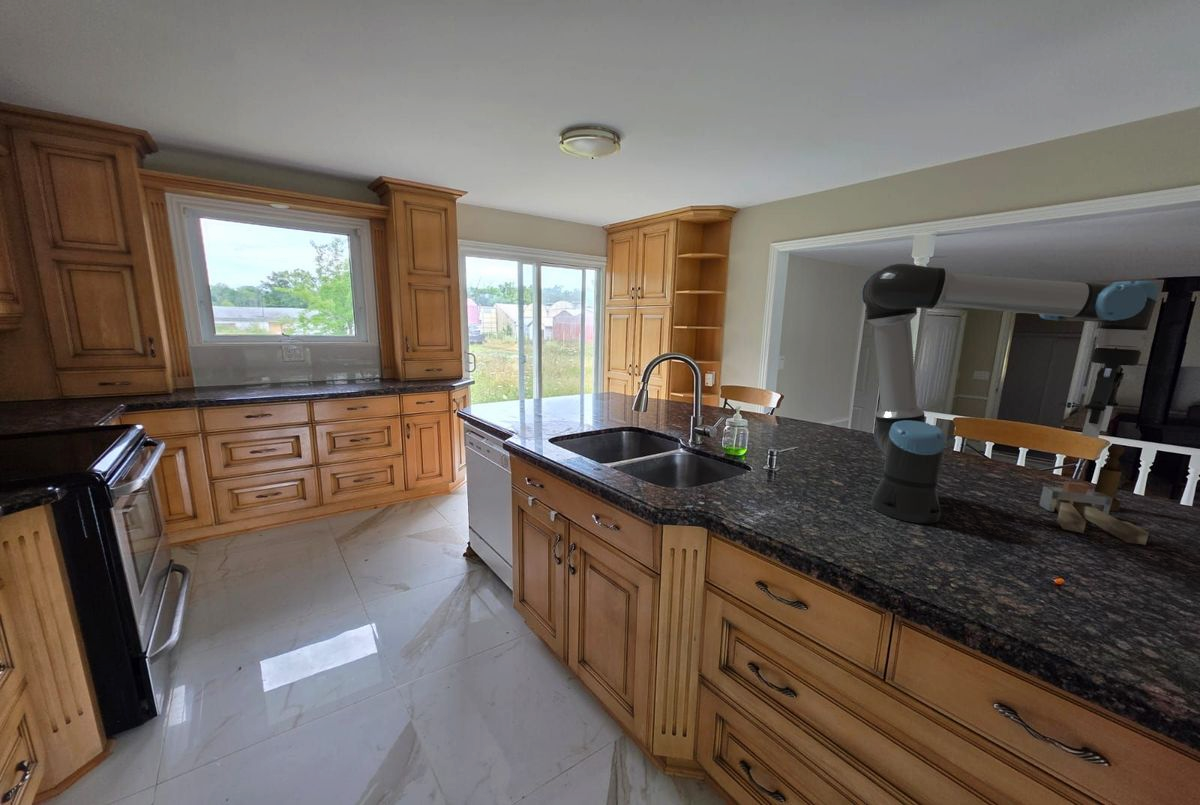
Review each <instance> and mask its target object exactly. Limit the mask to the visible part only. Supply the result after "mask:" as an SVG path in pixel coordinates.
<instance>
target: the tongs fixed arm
mask: <svg viewBox="0 0 1200 805" xmlns="http://www.w3.org/2000/svg"><path fill="white" fill-rule="evenodd" d="M1069 502H1070V503H1071V504H1072V505H1073V507H1074V508H1075V509H1076V510H1077V511H1078V513H1079V514H1080V515H1081V516H1082V517H1084V520H1086V521H1088V522H1090V523H1092V524H1094V525H1095V524H1096V526H1097V527H1099V528H1101V529H1103V530H1104V531H1106V532H1108V533H1110V534H1111V535H1113V536H1114V537H1117V538H1119V539H1120V540H1122V541H1124V542H1125V543H1129V544H1137V545H1139V544H1140V545H1145V546H1146V545H1147V543H1148V542H1147V541H1148V537H1149V534H1150V532H1148V531H1147V530H1145V529H1142V528H1141V527H1139V526H1137V525H1135V524H1134V523H1131V522H1129V521H1124V520H1119V519H1117V518H1116V517H1113V516H1111V514H1106V513H1104V512H1102V511H1100V510H1098V509H1097V508H1095V507H1093V506H1091V505H1089V504H1087V503H1083V502H1075V501H1069Z"/></svg>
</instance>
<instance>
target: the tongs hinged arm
mask: <svg viewBox="0 0 1200 805" xmlns="http://www.w3.org/2000/svg"><path fill="white" fill-rule="evenodd" d="M1058 488H1060V487H1059V486H1058ZM1054 510H1056V511H1057V513H1058V515H1057V522H1058V524H1059V525H1060V527H1061V528H1062V529H1063V530H1066V531H1070V532H1071V531H1072V532H1076V533H1081V534H1084V531H1085V529H1086V524H1087V520H1086V519H1085V518H1083V517H1082V516H1081V515H1080V514H1079V513H1078V511H1077V510H1076V509H1075V508H1074V507H1073V505H1072V504H1071V503H1070V502H1069V501H1066V500H1058V499H1057V501H1056V505H1055V509H1054Z"/></svg>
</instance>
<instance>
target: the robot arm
mask: <svg viewBox="0 0 1200 805" xmlns="http://www.w3.org/2000/svg"><path fill="white" fill-rule="evenodd" d="M1159 287H1160V285H1159V284H1158V283H1157V282H1155V281H1150V280H1126V281H1124V280H1123V281H1115V282H1112V284H1108V283H1107V284H1106V283H1093V282H1092V283H1090V282H1089V283H1088V282H1078V281H1077V282H1076V281H1063V280H1050V279H1049V280H1048V279H1035V278H1023V277H1022V278H1021V277H1008V276H1007V277H1005V276H993V275H980V274H979V275H978V274H963V273H952V272H949V271H948V270H947V269H946V268H944V267H935V266H934V267H933V266H932V267H931V266H925V265H917V264H911V263H896V264H891V265H889V266H885V267H884V268H882V269H880V270H878V271H876V272H874V273H873V274H872V275H871V276H869V278H867V280H866V281H865V283H864V285H863V288H862V291H861V297H862V300H863V303H864V304H865V309H866V310H865V311H866V321H867V323H869V324H871V325H872V326H873V328H874V341H875V342H874V343H875V356H876V366H877V377H878V388H879V390H878V391H879V401H880V408H879V410H878V411H877V412H876V413H875V416H874V417H875V424H876V425H875V429H874V434H873V436H874V441H875V444H876V446H877V447H878V448H879V450H880V451H881V452H882V453H883V454H884V455H885V463H884V468H883V473H882V474H883V476H882V479H881V480H880V481H879V484H878V485H877V487H876V489H875V490H874V492H873V494H872V496H871V500H870V501H871V502H870V506H871V507H872V508H873V509H874V510H876V511H877V512H879V513H881V514H882V515H885V516H886V517H887V516H888V517H890V518H893V519H897V520H900V521H905V522H908V523H916V524H925V525H926V524H934V523H938V522H939V521H940V518H941V513H942V512H941V510H942V509H941V505H940V500H939V496H938V492H937V485H938V480H939V475H940V470H941V464H942V459H943V455H944V451H945V450H944V449H945V447H946V441H945V440H946V434H945V432H944V431H943V430H942V429H941V428H940V427H938V426H936V425H933V424H930V423H928V422H926V419H925V411H924V410H923V409H921V408H919V407H918V402H917V388H916V387H917V386H916V376H915V375H916V374H915V362H914V360H915V359H914V350H913V349H914V347H913V336H912V325H911V324H912V320H913V319H914V317H915V316H916V315H917V314H918V309H930V310H931V309H932V310H933V309H935V308H937V307H939V306H942V307H943V306H945V307H953V308H954V307H956V308H968V309H975V310H976V309H977V310H990V311H998V312H999V311H1000V312H1011V313H1012V312H1013V313H1023V314H1033V315H1034V314H1035V315H1039V318H1041V319H1043V320H1049V321H1056V322H1057V321H1067V322H1094V323H1095V322H1097V323H1098V322H1099V323H1100V326H1099V328H1098V331H1097V332H1098V333H1097V336H1096V340H1095V343H1094V344H1095V346H1097V347H1095V348H1094V349H1093V351H1092V356H1091V359H1090V361H1091V362H1092V363H1093V364H1094V363H1095V364H1103V365H1104V366H1103V367H1101V368H1100V369H1099V370H1098V372H1097V374H1096V380H1095V386H1094V388H1093V391H1092V395H1091V398H1090V401H1089V403H1088V404H1085V405H1084V409H1087V414H1086V417H1085V421H1084V426H1083V428H1082V432H1081V436H1083V437H1090V438H1095V439H1096V438H1097V439H1099V438H1100V437H1099V436H1100V433H1101V432H1107V430H1108V427H1109V423H1110V420H1111V417H1112V412H1113V410H1114V407H1118V406H1119V402H1117V400H1116V399H1117V394H1118V389H1119V388H1120V386H1121V382H1122V380H1123V378H1124V375H1125V373H1124V372H1123V371H1124V368H1123V367H1122V366H1133V367H1134V366H1137V365H1138V364H1139V361H1140V359H1141V358H1140V357H1141V354H1142V351H1141V350H1140V348H1143V345H1144V342H1145V340H1149V339H1150V337H1151V336H1150V335H1149V334H1147V330H1148V328H1149V325H1150V322H1151V319H1152V316H1153V312H1154V308H1155V305H1156V304H1157V302H1158V301H1157V300H1158V294H1159ZM1138 348H1139V349H1138Z"/></svg>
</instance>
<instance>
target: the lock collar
mask: <svg viewBox="0 0 1200 805" xmlns="http://www.w3.org/2000/svg"><path fill="white" fill-rule="evenodd" d="M1058 487H1059V486H1058ZM1058 487H1057V486H1050V485H1049V486H1048V485H1043V486H1042V492H1041V495H1040V500H1039V504H1038V505H1039V506H1040V507H1042V508H1043V509H1045V510H1046V511H1048V512H1055V510H1056V509H1055V505H1056V501H1057V499H1058V500H1066V501H1075V502H1083V503H1091V504H1092V506H1093V507H1095V508H1097V509H1098V510H1100V511H1102V512H1104V513H1106V514H1108V515H1110V514H1109V513H1110V511H1109V510H1110V506H1111V502H1112V499H1113V498H1112V497H1110V496H1108V495H1105V494H1103V493H1101V492H1094V491H1093V490H1091V491H1090V490H1088V489H1089V485H1087V484H1085V483H1083V482H1074V481H1066V480H1064V481H1063V484H1062V487H1059V488H1058Z"/></svg>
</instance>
